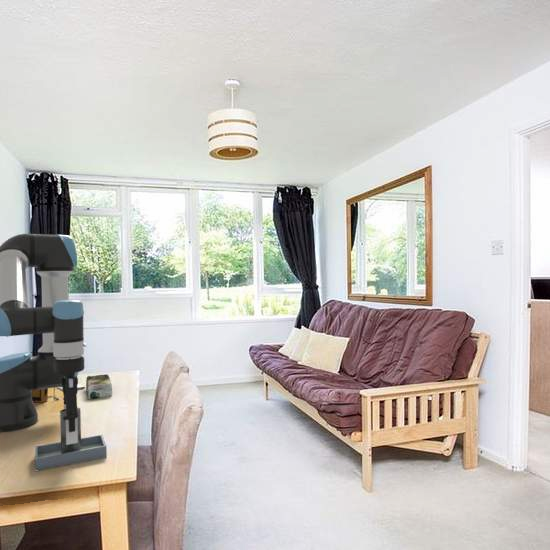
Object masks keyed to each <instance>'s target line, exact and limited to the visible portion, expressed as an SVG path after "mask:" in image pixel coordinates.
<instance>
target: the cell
mask: <svg viewBox="0 0 550 550" xmlns="http://www.w3.org/2000/svg"><path fill="white" fill-rule="evenodd" d="M81 413H82V412H81V407H77V414H78V417H77V423H78V443H74V444H68V445H66V420H63V417H66V407H65V409H64V408H63V409H61V410H60V411H59V414H60V415H59V419H60V420H59V421H60V423H59V424H60V442H61V454H63V453H68V452H74V451H79V450H81V438H82V423H81V421H82V420H81V419H82V418H81V417H82V416H81ZM69 414H72V413H69Z"/></svg>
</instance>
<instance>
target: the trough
mask: <svg viewBox="0 0 550 550" xmlns="http://www.w3.org/2000/svg"><path fill="white" fill-rule="evenodd" d="M107 449H108V448H107V444H106V441H105V439H104V436H103V434H99V435H93V436H86V437H81V450H79V451H74V452H68V453H63V454H61V441H57V442H53V443H52V442H51V443H46V444H42V445H36V446H35V449H34V450H35V454H34V465H35V466H34V471H35V470H39V471H43V470H42V469H44V470H48V469H47V468H49V469H53V468H52V467H54V468H57V467H56V466H60V467H63V466H62V465H65V466H68V464H70V465H73V464H72V463H75V464H79V463H78V462H80V463H83V461H85V462H88V461H87V460H90V461H93V460H92V459H95V460H98V459H97V458H100V459H104V458H103V457H105V458H107V457H108V455H107Z"/></svg>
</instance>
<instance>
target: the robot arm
mask: <svg viewBox="0 0 550 550" xmlns="http://www.w3.org/2000/svg"><path fill="white" fill-rule="evenodd" d="M76 267H78V253H77V248H76V244H75V241H74V239H73V237H72V236H70V235H67V234H58V233H57V234H49V233H48V234H47V233H43V234H42V233H21V234H17V235H16V234H15V235H14V236H12V237H10V238H8V239H7V240H5V241H4V242H2V243H1V245H0V337H7V338H8V337H13V336H14V337H16V336H27V335H40V334H42V345H41V347H39V349H38V350H37V355H35V356H34V355H33V356H32V353H30V352H28V351H26V352H25V351H24V352H18V353H12V354H8V355H4V356H1V357H0V433H1V432H9V431H10V430H11V431H15V429H16V430H21V429H23V428H24V429H25V428H27V427H29V426H32V425H34V424H36V423H37V422H38V420H39V413H38V411H37V408H36V405H35V404H34V403H35V402H33V401H32V391H33V390H40V389H47V388H48V389H52V388H53V389H54V388H55V389H56V388H57V387H62V389H63V391H62V393H63V394H62V395H63V399H62V400H63V409H65V407H66V417H63V420H66V445H68V444H74V443H78V423H77V417H78V414H77V408H78V397H77V396H78V395H77V394H78V392H79V390H78V389H77V385H78V384H79V378H78V377H79V373H80V372H82V371H84V369H85V357H84V354H85V347H87V343H84V314H85V311H84V303H83V302H82V300H79V299H70V296H69V295H70V292H69V290H70V289H69V276H70V275H72V273H74V268H76ZM28 268H35V269H36V274H37V275H38V276H40V277H41V306H39V307H37V306H35V307H29V298H28V284H27V271H26V270H27V269H28ZM69 413H72V414H69ZM20 428H21V429H20ZM11 431H10V432H11Z"/></svg>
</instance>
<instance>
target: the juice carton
mask: <svg viewBox="0 0 550 550" xmlns="http://www.w3.org/2000/svg"><path fill="white" fill-rule="evenodd" d="M85 379H86V381H85V382H86V385H85V386H86V387H85V389H86V393H87V398H88V399H89V398H91V399H94V398H99V397H100V398H105V397H104V396H108V397H112V396H113V384H112V381H111V378H110V376H109V374H98V375H89V376H87V377H86V378H85Z"/></svg>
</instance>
